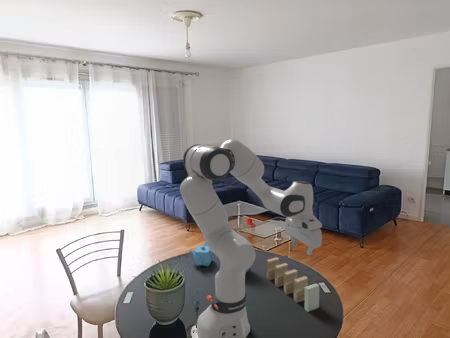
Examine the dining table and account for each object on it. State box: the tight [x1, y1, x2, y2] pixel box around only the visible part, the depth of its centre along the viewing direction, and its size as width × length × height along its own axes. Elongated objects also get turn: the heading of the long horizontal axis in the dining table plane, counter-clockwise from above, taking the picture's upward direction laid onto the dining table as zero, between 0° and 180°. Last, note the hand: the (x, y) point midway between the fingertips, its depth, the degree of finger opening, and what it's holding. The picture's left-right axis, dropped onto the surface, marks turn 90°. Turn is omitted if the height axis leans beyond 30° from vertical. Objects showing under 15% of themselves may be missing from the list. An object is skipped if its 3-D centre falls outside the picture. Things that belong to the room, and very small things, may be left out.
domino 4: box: [293, 275, 309, 304], centre depth 133 cm, size 2×6×10 cm, turn 116°
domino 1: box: [266, 256, 280, 281], centre depth 152 cm, size 2×6×10 cm, turn 116°
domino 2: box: [274, 262, 289, 288], centre depth 146 cm, size 2×6×10 cm, turn 116°
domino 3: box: [283, 268, 298, 295], centre depth 140 cm, size 2×6×10 cm, turn 116°
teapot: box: [188, 240, 215, 268], centre depth 170 cm, size 18×14×10 cm
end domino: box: [304, 283, 320, 313], centre depth 127 cm, size 2×6×10 cm, turn 116°
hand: (301, 250), depth 130 cm, fingers open, 8 cm apart
